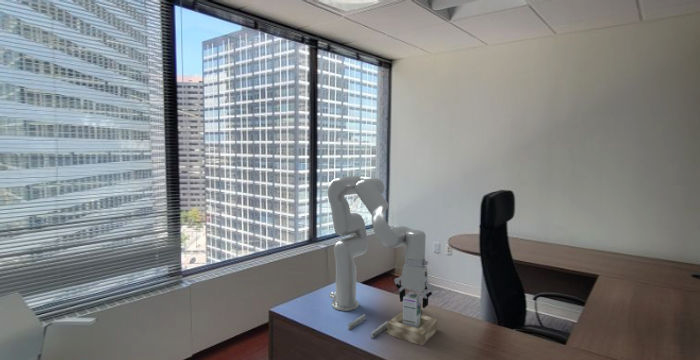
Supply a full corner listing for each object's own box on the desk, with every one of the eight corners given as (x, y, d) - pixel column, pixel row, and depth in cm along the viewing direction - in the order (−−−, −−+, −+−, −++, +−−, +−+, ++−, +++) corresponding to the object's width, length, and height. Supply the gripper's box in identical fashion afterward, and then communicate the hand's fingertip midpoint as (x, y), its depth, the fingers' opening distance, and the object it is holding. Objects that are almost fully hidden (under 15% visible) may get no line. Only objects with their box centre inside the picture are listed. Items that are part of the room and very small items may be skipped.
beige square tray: (386, 333, 148) (387, 322, 148) (404, 319, 160) (404, 309, 160) (422, 345, 139) (422, 334, 139) (437, 330, 152) (437, 319, 151)
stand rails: (347, 329, 151) (347, 324, 151) (363, 318, 161) (363, 314, 161) (372, 338, 144) (373, 333, 144) (388, 326, 154) (388, 321, 154)
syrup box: (416, 335, 146) (417, 299, 145) (401, 331, 149) (402, 296, 148) (420, 329, 151) (421, 294, 150) (406, 325, 154) (407, 291, 153)
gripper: (439, 263, 145) (437, 306, 147) (399, 255, 155) (398, 295, 157) (431, 268, 139) (430, 312, 141) (391, 260, 149) (389, 301, 151)
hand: (413, 303), depth 149 cm, fingers open, 9 cm apart
